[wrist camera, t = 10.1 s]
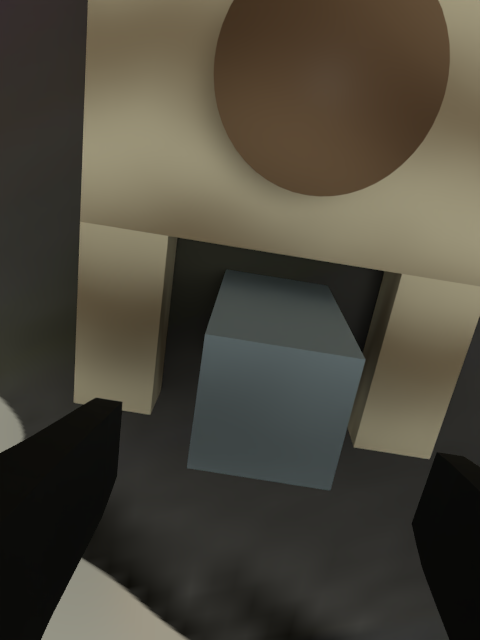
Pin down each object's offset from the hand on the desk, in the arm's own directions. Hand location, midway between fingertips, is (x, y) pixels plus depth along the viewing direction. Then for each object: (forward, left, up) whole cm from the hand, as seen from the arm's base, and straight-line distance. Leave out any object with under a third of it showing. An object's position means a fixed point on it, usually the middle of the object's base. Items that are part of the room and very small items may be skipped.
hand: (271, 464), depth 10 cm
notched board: (+5, 0, -9) cm, 10 cm away
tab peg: (0, 0, -9) cm, 9 cm away
